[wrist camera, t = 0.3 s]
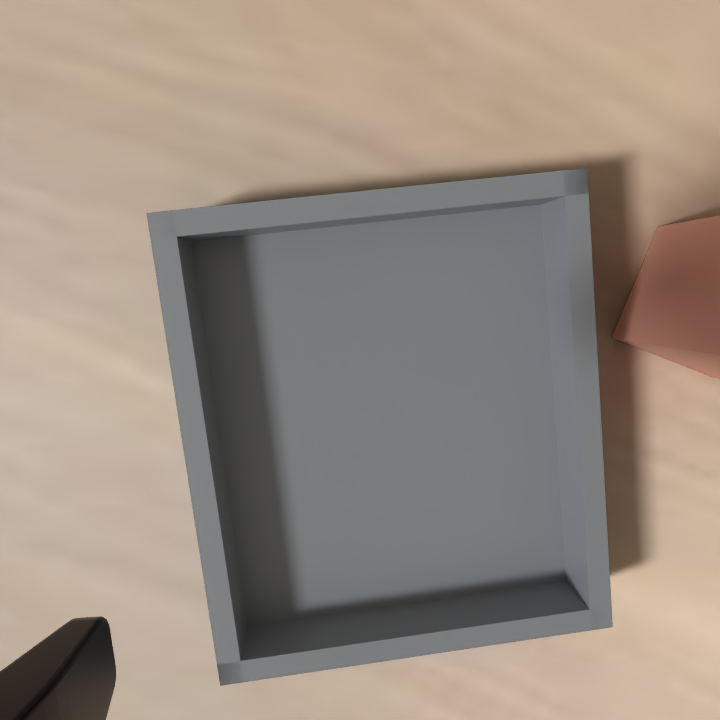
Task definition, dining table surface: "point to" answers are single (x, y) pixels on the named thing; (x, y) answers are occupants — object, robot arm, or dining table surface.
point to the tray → (389, 419)
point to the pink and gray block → (678, 297)
